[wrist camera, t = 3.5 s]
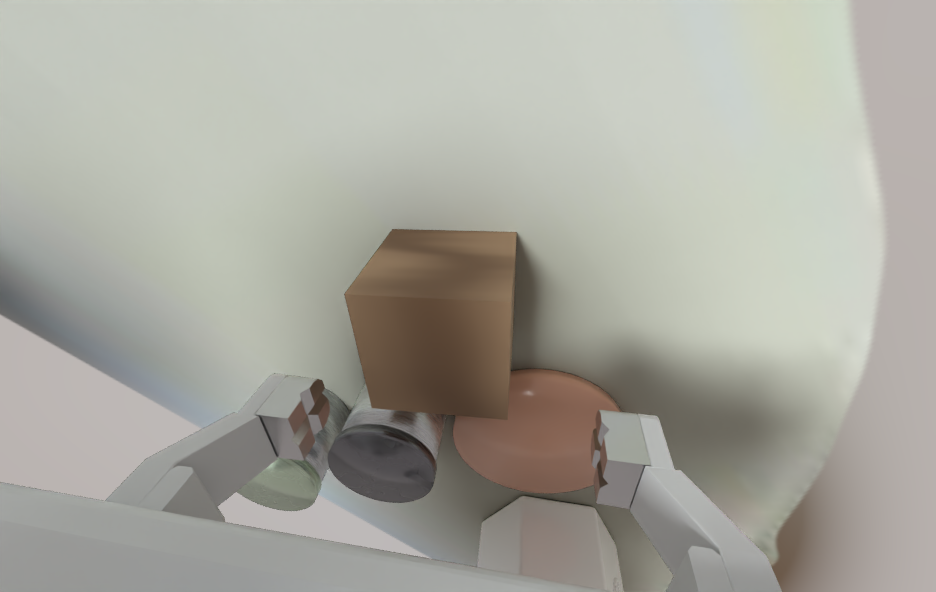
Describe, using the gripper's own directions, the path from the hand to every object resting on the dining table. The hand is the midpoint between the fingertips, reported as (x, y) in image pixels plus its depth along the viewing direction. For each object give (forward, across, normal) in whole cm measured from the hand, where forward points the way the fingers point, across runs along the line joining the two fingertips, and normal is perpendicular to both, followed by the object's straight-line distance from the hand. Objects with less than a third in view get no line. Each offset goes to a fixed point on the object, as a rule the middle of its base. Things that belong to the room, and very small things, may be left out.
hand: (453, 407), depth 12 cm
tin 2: (+6, +4, +7) cm, 10 cm away
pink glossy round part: (+7, -3, +9) cm, 11 cm away
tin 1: (+6, +10, +9) cm, 15 cm away
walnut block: (+7, +1, 0) cm, 7 cm away
